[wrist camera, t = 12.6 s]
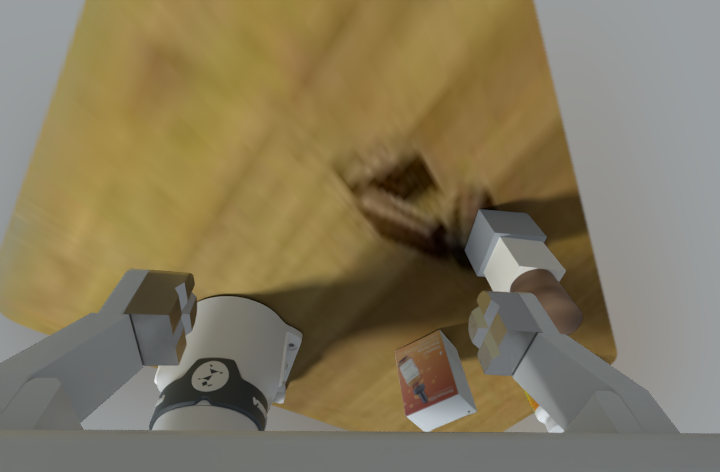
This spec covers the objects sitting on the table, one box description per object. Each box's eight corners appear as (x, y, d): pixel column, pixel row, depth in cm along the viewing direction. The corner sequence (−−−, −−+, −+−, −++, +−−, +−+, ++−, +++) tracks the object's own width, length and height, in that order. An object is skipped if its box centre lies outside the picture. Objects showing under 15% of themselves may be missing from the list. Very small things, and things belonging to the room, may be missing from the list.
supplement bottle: (510, 377, 64) (537, 435, 56) (534, 359, 61) (565, 416, 53) (533, 386, 65) (561, 443, 57) (556, 368, 63) (590, 425, 55)
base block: (509, 253, 48) (526, 279, 44) (464, 250, 48) (477, 276, 43) (526, 212, 45) (546, 236, 41) (479, 208, 44) (494, 232, 40)
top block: (523, 276, 44) (543, 307, 40) (483, 272, 43) (499, 303, 39) (542, 241, 41) (566, 270, 37) (499, 236, 41) (519, 266, 36)
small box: (439, 327, 55) (460, 393, 47) (456, 347, 58) (479, 412, 49) (393, 350, 57) (404, 417, 49) (411, 368, 60) (425, 434, 52)
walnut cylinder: (542, 304, 40) (567, 342, 36) (502, 300, 39) (523, 339, 35) (562, 270, 37) (592, 307, 33) (520, 266, 36) (545, 303, 32)
